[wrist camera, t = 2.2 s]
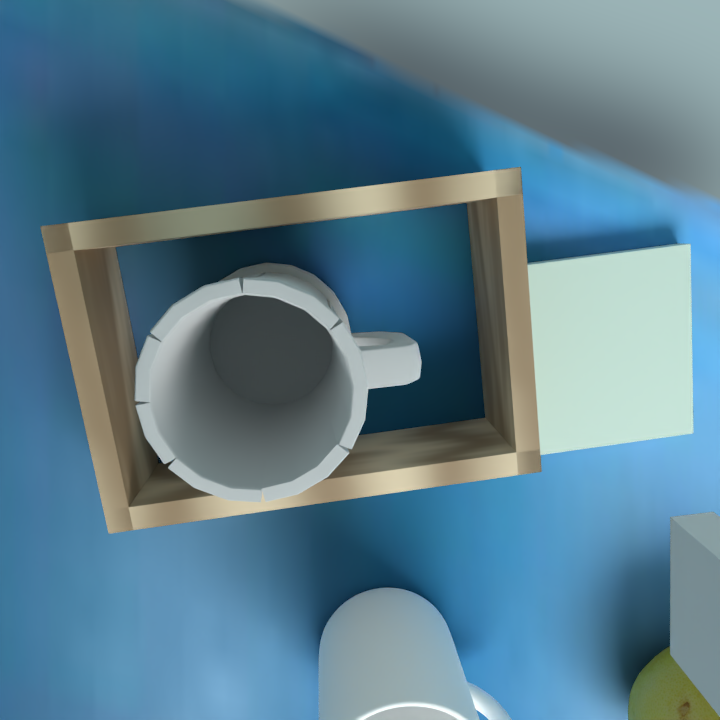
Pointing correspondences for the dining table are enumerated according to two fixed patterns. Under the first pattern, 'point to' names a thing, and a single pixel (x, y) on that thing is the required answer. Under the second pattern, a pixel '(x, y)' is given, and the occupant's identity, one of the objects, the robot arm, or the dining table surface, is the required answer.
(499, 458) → the caddy
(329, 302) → the cup
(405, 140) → the dining table surface
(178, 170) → the dining table surface
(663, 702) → the fruit
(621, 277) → the mat
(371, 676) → the cup
